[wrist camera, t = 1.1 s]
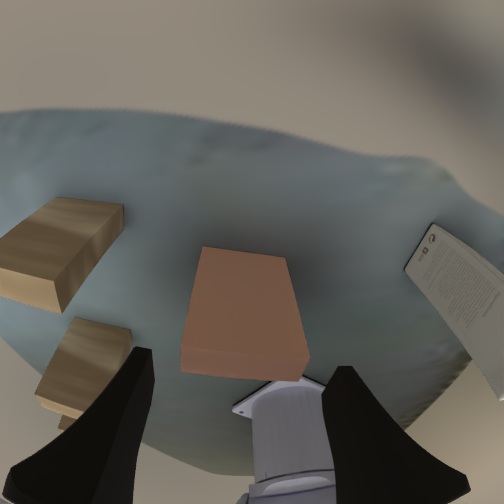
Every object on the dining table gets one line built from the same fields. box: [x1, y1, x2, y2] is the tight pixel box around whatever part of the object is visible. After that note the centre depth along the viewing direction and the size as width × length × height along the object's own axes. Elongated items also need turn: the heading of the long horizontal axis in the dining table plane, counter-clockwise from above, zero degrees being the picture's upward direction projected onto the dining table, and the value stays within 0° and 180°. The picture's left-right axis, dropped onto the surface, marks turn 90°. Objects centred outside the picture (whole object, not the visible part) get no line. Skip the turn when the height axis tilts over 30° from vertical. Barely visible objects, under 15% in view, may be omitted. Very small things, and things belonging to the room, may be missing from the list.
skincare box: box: [405, 224, 504, 401], centre depth 13 cm, size 6×4×12 cm
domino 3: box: [181, 246, 310, 382], centre depth 14 cm, size 2×5×8 cm, turn 80°
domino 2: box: [35, 317, 132, 419], centre depth 17 cm, size 2×5×8 cm, turn 80°
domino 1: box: [0, 197, 124, 314], centre depth 12 cm, size 2×5×8 cm, turn 80°
